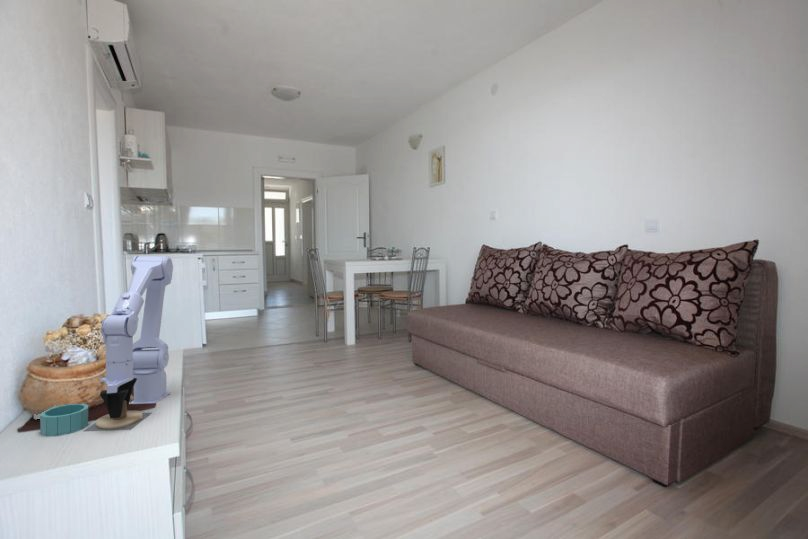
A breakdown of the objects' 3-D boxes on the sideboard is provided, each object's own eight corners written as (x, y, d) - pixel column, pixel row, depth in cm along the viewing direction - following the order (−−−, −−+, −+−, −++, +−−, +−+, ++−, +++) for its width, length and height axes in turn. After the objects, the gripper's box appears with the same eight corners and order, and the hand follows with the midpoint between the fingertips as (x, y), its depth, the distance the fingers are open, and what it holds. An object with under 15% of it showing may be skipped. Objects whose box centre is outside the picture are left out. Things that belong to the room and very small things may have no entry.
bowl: (58, 423, 103) (58, 404, 103) (96, 421, 105) (96, 403, 105) (30, 438, 95) (30, 417, 94) (72, 436, 96) (72, 416, 96)
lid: (110, 414, 108) (110, 396, 108) (149, 413, 110) (149, 395, 110) (86, 430, 98) (86, 410, 98) (130, 428, 100) (130, 408, 100)
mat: (109, 415, 109) (109, 413, 109) (152, 414, 110) (152, 412, 110) (82, 433, 98) (82, 431, 98) (131, 431, 99) (131, 429, 99)
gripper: (109, 355, 109) (109, 404, 109) (91, 369, 95) (91, 425, 96) (139, 353, 112) (139, 401, 112) (126, 366, 98) (126, 420, 98)
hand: (119, 412), depth 104 cm, fingers open, 7 cm apart
